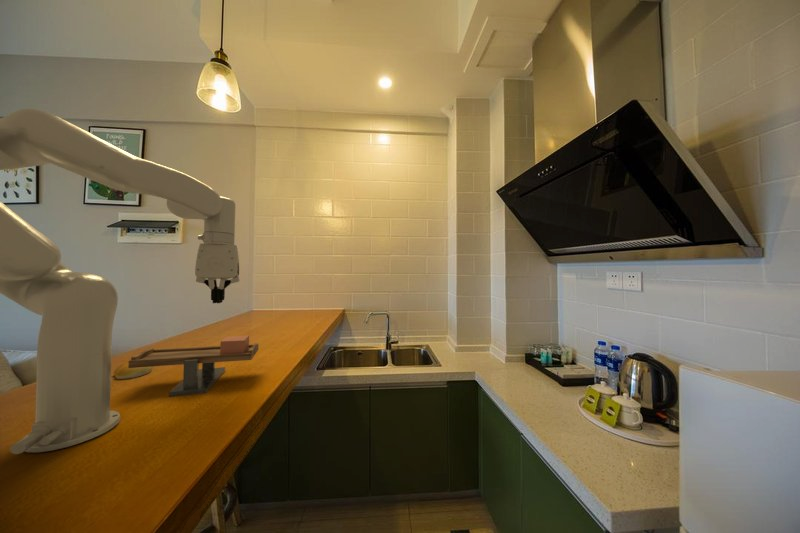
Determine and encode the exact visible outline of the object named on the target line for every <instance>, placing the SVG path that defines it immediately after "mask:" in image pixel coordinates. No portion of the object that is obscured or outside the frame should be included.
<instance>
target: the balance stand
mask: <svg viewBox="0 0 800 533" xmlns="http://www.w3.org/2000/svg"><path fill="white" fill-rule="evenodd" d="M214 346H215V345H214ZM214 346H213V345H212V346H210V345H209V347H214ZM199 364H200V363H199V359H192V360H185V361H184V364H183V372H182V373H183V375H182V376H183V378H182V379H183V380H181V382H178V384H176V385H175V387H173V388H172V389H171V390H170V391H169V392H168V397H170V398H171V397H179V396H180V397H181V396H189V395H190V396H191V395H198V394H206V393H207V392H208V391H209V390H210V389H211V388H212V386H213V385H214V384H215V383H216V382H217V381H218V380H219V379H220V378H221V377H222V375H223V374H224V373H225V371H226V367H225V366H224V367H216V365H215V364H216V362H213V363H201V364H202V365H201V368H200V369H199Z"/></svg>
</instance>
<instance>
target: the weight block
mask: <svg viewBox="0 0 800 533" xmlns="http://www.w3.org/2000/svg"><path fill="white" fill-rule="evenodd" d="M249 345H250V335H234V336H233V335H231V336H226V337H224V338H223V339H222V340H220V345H219V346H220V354H236V353H245V352H246V351H247V350H248V349H249Z"/></svg>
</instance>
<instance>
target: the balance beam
mask: <svg viewBox="0 0 800 533" xmlns="http://www.w3.org/2000/svg"><path fill="white" fill-rule="evenodd" d="M258 351H259V343H258V342H255V343H253V344H249V349H248V350H247V351H246V352H245V353H236V354H220V345H218V346H216V345H214V347H210V346H199V347H197V346H196V347H179V348H178V347H177V348H160V349H157V348H156V349H154V348H148V349H145V350H143V351H141V352H139V353H138V354H135V355H133V356H132V357H131V359H130V360H128V361H129V365H128V368H137V367H152V368H153V367H163V366H164V367H165V366H177V365H178V366H180V365H184V361H185V360H192V359H199V364H202V363H213V362H215V363H223V362H224V363H225V362H227V363H228V362H240V361H241V362H242V361H252V360H253V359H254V357H255V355H256V354H257V353H258Z"/></svg>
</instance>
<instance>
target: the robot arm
mask: <svg viewBox="0 0 800 533" xmlns="http://www.w3.org/2000/svg"><path fill="white" fill-rule="evenodd" d="M48 164H52V165H54V166H57V167H59V168H62V169H63V170H66V171H69V172H71V173H74V174H76V175H79V176H81V177H83V178H86V179H88V180H91V181H93V182H96V183H98V184H101V185H103V186H105V187H107V188H110V189H112V190H116V191H120V192H125V193H129V194H136V195H147V196H152V197H157V198H160V199H161V198H162V199H165V200H166V207H167V208H168V211H169V212H170V213H171V214H173V215H175V216H176V217H178V218H181V219H186V220H187V219H188V220H203V232H202V234H198V235H197V240H201V241H202V242H203V243H199V246H198V250H197V254H196V259H195V268H194V269H195V270H194V275H195V277H196V279H195V281H196V283H200V284H205V285H206V286H207V287H208V288H209V289H210V300H211V301H212V304H221V303H223V301H224V300H225V293H226V292H225V291H226V289H227V288H228V286H230V285H231V284H236V283H239V282H240V276H239V275H240V258H239V251H238V247H237V245H236V244H235V241H236V240H235V233H236V232H235V231H236V230H235V229H236V228H235V227H236V203H235V201H234V200H233V199H232V198H230V197H225V196H220V195H219V193H217V192H216V190H214V189H213V188H212V187H210V186H209V185H207V184H205V183H204V182H201V181H200V180H198V179H197V178H194V177H192V176H191V175H188V174H186V173H183V172H181V171H179V170H176V169H174V168H171V167H167V166H164V165H161V164H159V163H156V162H153V161H150V160H147V159H144V158H140V157H138V156H135V155H133V154H131V153H129V152H127V151H125V150H123V149H121V148H119V147H118V146H115V145H113V144H111V143H109V142H108V141H106V140H104V139H101V138H100V137H98V136H96V135H94V134H92V133H91V132H89V131H87V130H85V129H82V128H80V127H79V126H77V125H75V124H73V123H71V122H69V121H67V120H66V119H63V118H61V117H60V116H57V115H54V114H52V113H51V112H48V111H45V110H42V109H37V108H36V109H34V108H25V109H18V110H15V111H12V112H11V113H9V114H6V115H5V116H3V117H1V118H0V171H5V170H6V171H7V170H16V169H23V168H30V167H32V168H33V167H39V166H44V165H48ZM61 254H62V253H61V251H60V248H59V247H58V246H57V245H56V243H55V242H54V241H53V240H51V239H50V238H48V237H47V236H46V235H45V234H43V233H42V232H40V231H39V230H38V229H36V228H35V227H33V225H31V223H29V222H28V221H26V220H25V219H23V218H22V217H21V216H19V215H18V214H17V213H16V212H15V211H13V210H12V209H10V207H8V206H7V205H6V204H4V202H2V201H1V200H0V294H1V295H3V296H5V298H8V299H10V300H12V301H13V302H15V303H16V304H17V305H19V306H21V307H23V308H24V309H26V310H27V311H28V310H29V311H30V312H32V313H34V314H36V315H39V316H42V318H41V324H40V328H39V332H38V337H37V344H36V345H37V346H36V379H35V380H36V384H35V385H36V387H35V416H34V418H35V420H34V422H35V423H33V424H31V431H30V432H29V433H28V434H26V435H24V437H23V438H22V439H20V440H19V441H17V442H15V443H14V444H12V445H11V446H10V448H9V452H10V453H11V454H13V455H20V454H22V453H24V452H25V453H36V454H37V453H45V452H50V451H51V452H53V451H55V450H62V449H64V448H69V447H73V446H75V445H78V444H81V443H83V442H87V441H90V440H92V439H94V438H96V437H99V436H101V435H103V434H105V433H107V432H108V431H111V430H112V429H113V428H114V427H115V426H117V425H118V424H119V423H120V421H121V414H120V412H119V411H117V410H111V390H112V388H111V386H112V385H111V384H112V379H111V378H112V354H113V353H112V350H113V349H112V347H113V345H112V343H113V342H112V340H113V339H112V338H113V328H114V321H115V317H116V316H115V315H116V312H117V308H118V303H119V302H118V301H119V300H118V299H119V298H118V292H117V289H116V288H115V285H114V284H112V282H111V281H110V280H108V279H106V278H105V277H103V276H101V275H97V274H95V273H89V272H80V271H79V272H77V271H76V272H75V271H73V270H71V269H70V268H69V267H68V266H67V265H65V264H64V263H62V262H61V260H62V255H61ZM217 279H218V280H220V281H219V284H218V280H217ZM218 285H219V286H218Z"/></svg>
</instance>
